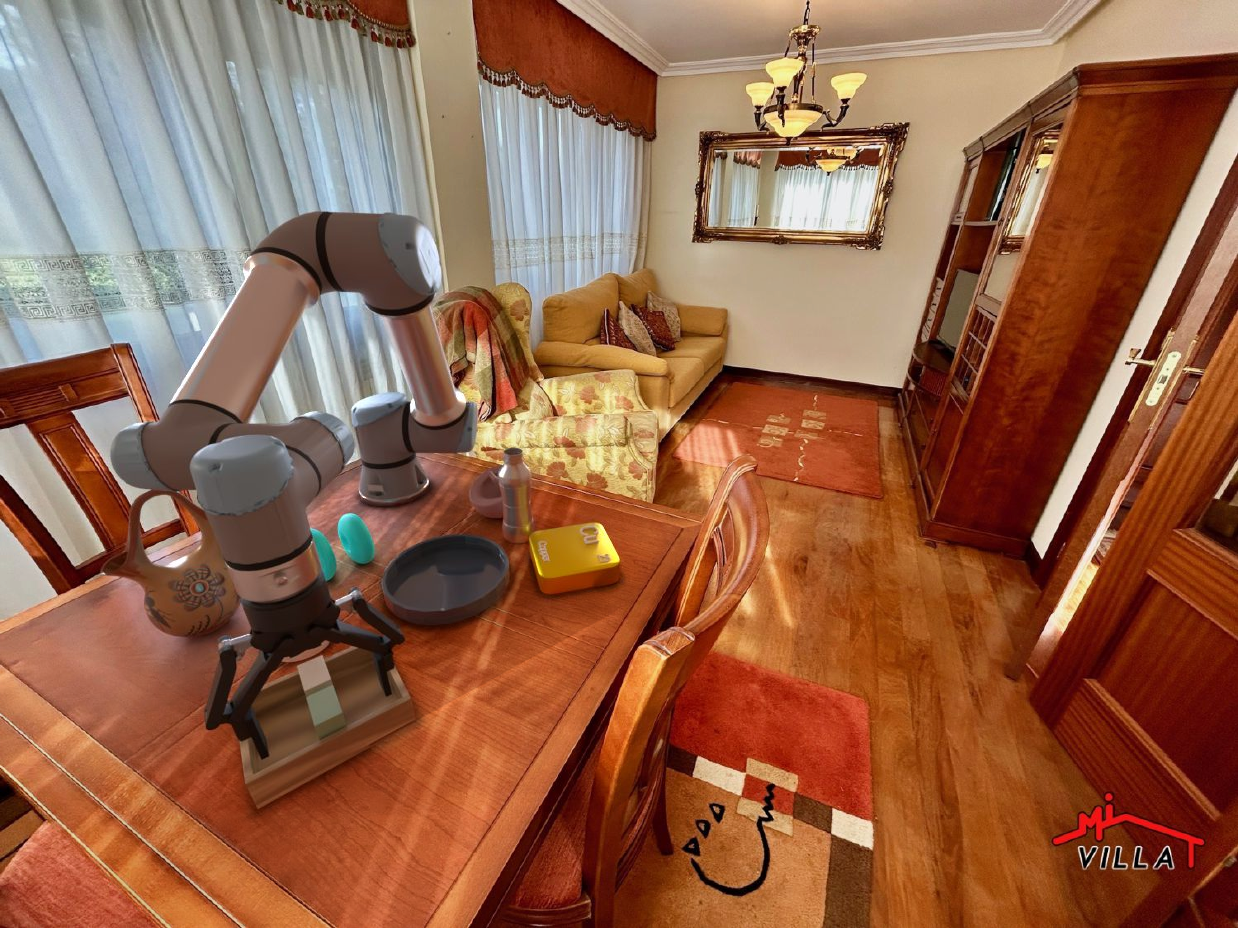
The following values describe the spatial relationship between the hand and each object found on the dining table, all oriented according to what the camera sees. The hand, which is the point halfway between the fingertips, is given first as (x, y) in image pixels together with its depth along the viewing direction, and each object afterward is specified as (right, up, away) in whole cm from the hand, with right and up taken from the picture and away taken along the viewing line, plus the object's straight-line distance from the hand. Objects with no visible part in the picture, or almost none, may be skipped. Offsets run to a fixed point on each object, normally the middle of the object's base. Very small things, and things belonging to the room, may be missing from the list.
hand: (328, 717), depth 62 cm
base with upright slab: (-13, +4, +16) cm, 21 cm away
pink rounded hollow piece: (+9, +20, +50) cm, 55 cm away
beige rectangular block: (-4, -1, +6) cm, 7 cm away
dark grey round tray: (+5, +10, +29) cm, 31 cm away
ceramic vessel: (-29, +5, +18) cm, 35 cm away
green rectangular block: (0, -3, +2) cm, 4 cm away
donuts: (-16, +12, +32) cm, 37 cm away
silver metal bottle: (+15, +16, +42) cm, 47 cm away
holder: (-2, -3, +4) cm, 5 cm away
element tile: (+27, +12, +35) cm, 45 cm away
